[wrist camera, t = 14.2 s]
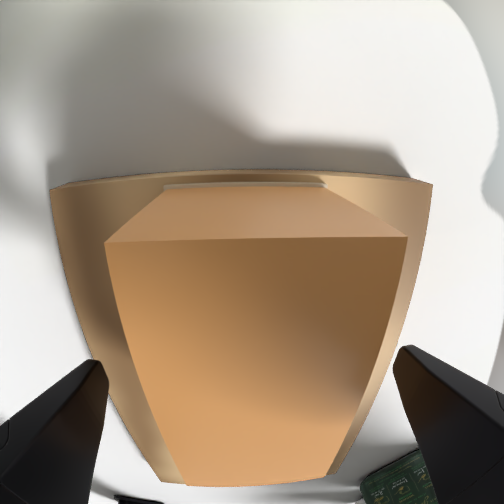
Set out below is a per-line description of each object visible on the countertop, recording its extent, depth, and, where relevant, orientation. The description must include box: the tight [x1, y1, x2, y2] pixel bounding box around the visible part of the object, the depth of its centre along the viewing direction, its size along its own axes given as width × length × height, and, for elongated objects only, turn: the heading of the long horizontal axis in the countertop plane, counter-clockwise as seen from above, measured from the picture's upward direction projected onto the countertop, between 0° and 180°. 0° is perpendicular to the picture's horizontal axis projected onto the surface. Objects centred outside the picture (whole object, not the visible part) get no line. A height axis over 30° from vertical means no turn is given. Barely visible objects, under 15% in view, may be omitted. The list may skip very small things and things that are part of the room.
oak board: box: [50, 169, 433, 484], centre depth 13 cm, size 14×22×2 cm, turn 0°
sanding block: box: [104, 182, 408, 487], centre depth 8 cm, size 5×9×5 cm, turn 0°
